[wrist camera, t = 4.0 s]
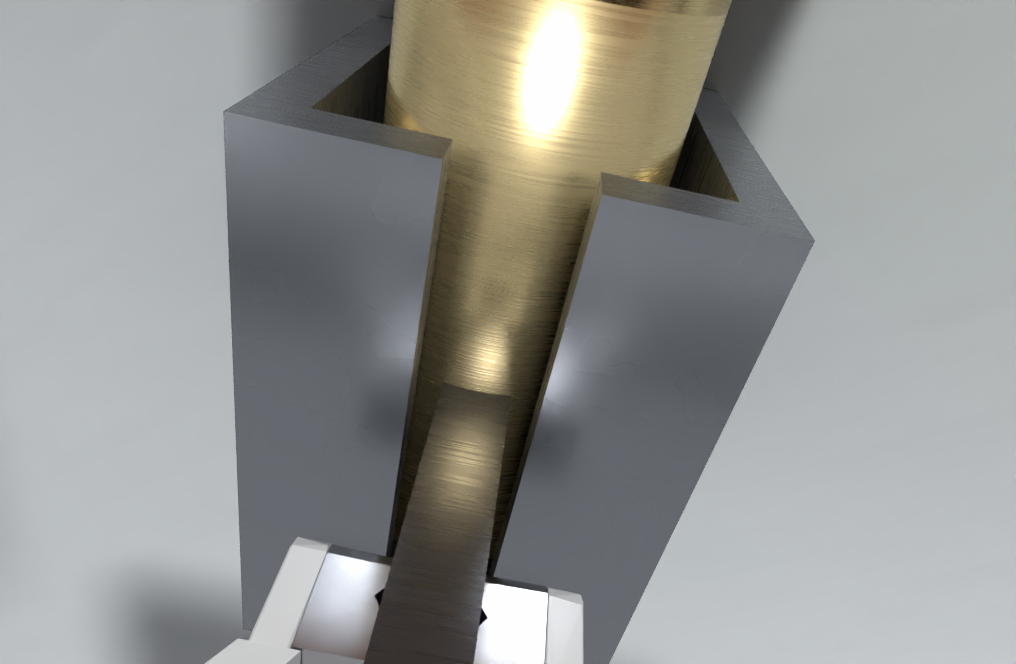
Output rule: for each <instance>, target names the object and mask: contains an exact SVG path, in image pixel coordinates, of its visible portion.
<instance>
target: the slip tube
mask: <svg viewBox="0 0 1016 664" xmlns="http://www.w3.org/2000/svg"><path fill="white" fill-rule="evenodd" d="M731 2H732V0H395V4H394V15H393V26H392V37H391V48H390V59H389V70H388V81H387V92H386V103H385V114H384V124H386V125H390V126H395V127H399V128H404V129H408V130H413V131H417V132H422V133H426V134H431V135H436V136H440V137H445V138H449V139H453V142H452V148H451V155H450V162H449V169H448V175H447V182H446V189H445V195H444V202H443V209H442V215H441V222H440V229H439V236H438V242H437V249H436V256H435V262H434V269H433V276H432V282H431V289H430V296H429V303H428V309H427V316H426V323H425V329H424V336H423V343H422V349H421V356H420V363H419V370H418V376H417V383H416V390H415V396H414V403H413V410H412V417H411V423H410V430H409V437H408V443H407V450H406V457H405V463H404V470H403V477H402V484H401V490H400V497H399V504H398V510H397V517H396V524H395V530H394V537H393V538H394V539H395V540H397V541H398V543H397V547H396V550H395V554H394V557H393V561H392V564H391V568H390V572H389V575H388V579H387V582H386V586H385V589H384V593H383V596H382V600H381V603H380V607H379V610H378V614H377V617H376V621H375V624H374V628H373V632H372V635H371V639H370V642H369V646H368V649H367V653H366V656H365V660H364V663H363V664H474V657H475V650H476V643H477V636H478V628H479V621H480V614H481V607H482V600H483V593H484V586H485V579H486V572H487V565H488V559H493V558H494V554H495V551H496V547H497V543H498V540H499V536H500V533H501V529H502V525H503V522H504V518H505V515H506V511H507V507H508V504H509V500H510V497H511V493H512V490H513V486H514V482H515V479H516V475H517V472H518V468H519V464H520V461H521V457H522V454H523V450H524V446H525V443H526V439H527V436H528V432H529V428H530V425H531V421H532V418H533V414H534V410H535V407H536V403H537V400H538V396H539V392H540V389H541V385H542V382H543V378H544V375H545V371H546V367H547V364H548V360H549V357H550V353H551V349H552V346H553V342H554V339H555V335H556V331H557V328H558V324H559V321H560V317H561V313H562V310H563V306H564V303H565V299H566V295H567V292H568V288H569V285H570V281H571V278H572V274H573V270H574V267H575V263H576V260H577V256H578V252H579V249H580V245H581V242H582V238H583V234H584V231H585V227H586V224H587V220H588V216H589V213H590V209H591V206H592V202H593V198H594V195H595V191H596V188H597V184H598V180H599V177H600V173H601V172H604V173H609V174H613V175H618V176H622V177H627V178H631V179H636V180H640V181H645V182H650V183H654V184H659V185H663V186H668V187H669V184H670V182H671V179H672V176H673V173H674V170H675V167H676V164H677V161H678V158H679V155H680V152H681V149H682V146H683V143H684V140H685V137H686V134H687V131H688V129H689V126H690V123H691V120H692V117H693V114H694V111H695V108H696V105H697V102H698V99H699V96H700V93H701V90H702V87H703V84H704V81H705V79H706V76H707V73H708V70H709V67H710V64H711V61H712V58H713V55H714V52H715V49H716V46H717V43H718V40H719V37H720V34H721V31H722V28H723V26H724V23H725V20H726V17H727V14H728V11H729V8H730V5H731Z"/></svg>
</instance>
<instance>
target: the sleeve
mask: <svg viewBox="0 0 1016 664" xmlns="http://www.w3.org/2000/svg"><path fill="white" fill-rule="evenodd" d="M392 26H393V19H390V18H385V17H381V16H376V17H374V18H372V19H371V20H369V21H368V22H366V23H364V24H363V25H361V26H360V27H358V28H356V29H355V30H353V31H352V32H350V33H348V34H347V35H345V36H344V37H342V38H340V39H339V40H337V41H336V42H334V43H332V44H331V45H329V46H328V47H326V48H324V49H323V50H321V51H320V52H318V53H316V54H315V55H313V56H311V57H310V58H308V59H307V60H305V61H303V62H302V63H300V64H299V65H297V66H295V67H294V68H292V69H291V70H289V71H287V72H286V73H284V74H283V75H281V76H279V77H278V78H276V79H275V80H273V81H271V82H270V83H268V84H267V85H265V86H263V87H262V88H260V89H259V90H257V91H255V92H254V93H252V94H251V95H249V96H247V97H246V98H244V99H243V100H241V101H239V102H238V103H236V104H235V105H233V106H231V107H230V108H228V109H226V110H225V111H223V116H224V142H225V168H226V194H227V220H228V246H229V271H230V297H231V323H232V349H233V375H234V401H235V427H236V453H237V479H238V505H239V531H240V557H241V583H242V609H243V629H246V630H251V631H253V629H254V626H255V624H256V622H257V620H258V617H259V615H260V613H261V611H262V609H263V606H264V604H265V602H266V600H267V597H268V595H269V593H270V591H271V588H272V586H273V584H274V582H275V579H276V577H277V575H278V573H279V570H280V568H281V566H282V564H283V561H284V559H285V557H286V555H287V553H288V550H289V548H290V546H291V545H292V544H293V542H294V541H295V539H296V538H297V537H301V538H306V539H311V540H316V541H321V542H326V543H331V544H334V545H339V546H343V547H348V548H352V549H356V550H361V551H365V552H370V553H374V554H379V555H383V556H388V557H392V558H393V557H394V554H395V550H396V547H397V543H398V541H397V540H395V539H394V538H393V537H394V530H395V524H396V517H397V510H398V504H399V497H400V490H401V484H402V477H403V470H404V463H405V457H406V450H407V443H408V437H409V430H410V423H411V417H412V410H413V403H414V396H415V390H416V383H417V376H418V370H419V363H420V356H421V349H422V343H423V336H424V329H425V323H426V316H427V309H428V303H429V296H430V289H431V282H432V276H433V269H434V262H435V256H436V249H437V242H438V236H439V229H440V222H441V215H442V209H443V202H444V195H445V189H446V182H447V175H448V169H449V162H450V155H451V148H452V142H453V139H449V138H445V137H440V136H436V135H431V134H426V133H422V132H417V131H413V130H408V129H404V128H399V127H395V126H390V125H386V124H384V114H385V103H386V92H387V81H388V70H389V59H390V48H391V37H392ZM814 242H815V240H814V239H813V237H812V236H811V234H810V233H809V231H808V230H807V228H806V227H805V225H804V224H803V222H802V220H801V219H800V217H799V216H798V214H797V213H796V211H795V210H794V208H793V207H792V205H791V204H790V202H789V201H788V199H787V198H786V196H785V194H784V193H783V191H782V190H781V188H780V187H779V185H778V184H777V182H776V181H775V179H774V178H773V176H772V175H771V173H770V172H769V170H768V168H767V167H766V165H765V164H764V162H763V161H762V159H761V158H760V156H759V155H758V153H757V152H756V150H755V149H754V147H753V146H752V144H751V142H750V141H749V139H748V138H747V136H746V135H745V133H744V132H743V130H742V129H741V127H740V126H739V124H738V123H737V121H736V120H735V118H734V116H733V115H732V113H731V112H730V110H729V109H728V107H727V106H726V104H725V103H724V101H723V100H722V98H721V97H720V95H719V94H718V92H716V91H711V90H707V89H702V90H701V93H700V96H699V99H698V102H697V105H696V108H695V111H694V114H693V117H692V120H691V123H690V126H689V129H688V131H687V134H686V137H685V140H684V143H683V146H682V149H681V152H680V155H679V158H678V161H677V164H676V167H675V170H674V173H673V176H672V179H671V182H670V184H669V187H668V186H663V185H659V184H654V183H650V182H645V181H640V180H636V179H631V178H627V177H622V176H618V175H613V174H609V173H604V172H601V173H600V177H599V180H598V184H597V188H596V191H595V195H594V198H593V202H592V206H591V209H590V213H589V216H588V220H587V224H586V227H585V231H584V234H583V238H582V242H581V245H580V249H579V252H578V256H577V260H576V263H575V267H574V270H573V274H572V278H571V281H570V285H569V288H568V292H567V295H566V299H565V303H564V306H563V310H562V313H561V317H560V321H559V324H558V328H557V331H556V335H555V339H554V342H553V346H552V349H551V353H550V357H549V360H548V364H547V367H546V371H545V375H544V378H543V382H542V385H541V389H540V392H539V396H538V400H537V403H536V407H535V410H534V414H533V418H532V421H531V425H530V428H529V432H528V436H527V439H526V443H525V446H524V450H523V454H522V457H521V461H520V464H519V468H518V472H517V475H516V479H515V482H514V486H513V490H512V493H511V497H510V500H509V504H508V507H507V511H506V515H505V518H504V522H503V525H502V529H501V533H500V536H499V540H498V543H497V547H496V551H495V554H494V558H493V559H488V565H487V572H486V575H488V576H494V577H499V578H504V579H510V580H515V581H521V582H526V583H531V584H537V585H542V586H546V588H552V589H557V590H563V591H568V592H574V593H579V594H580V595H581V597H582V600H583V664H609V662H610V660H611V658H612V656H613V654H614V652H615V650H616V648H617V646H618V644H619V642H620V640H621V638H622V636H623V634H624V632H625V629H626V627H627V625H628V623H629V621H630V619H631V617H632V615H633V613H634V611H635V609H636V607H637V605H638V603H639V601H640V599H641V597H642V595H643V593H644V590H645V588H646V586H647V584H648V582H649V580H650V578H651V576H652V574H653V572H654V570H655V568H656V566H657V564H658V562H659V560H660V558H661V556H662V554H663V551H664V549H665V547H666V545H667V543H668V541H669V539H670V537H671V535H672V533H673V531H674V529H675V527H676V525H677V523H678V521H679V519H680V517H681V515H682V513H683V510H684V508H685V506H686V504H687V502H688V500H689V498H690V496H691V494H692V492H693V490H694V488H695V486H696V484H697V482H698V480H699V478H700V476H701V474H702V471H703V469H704V467H705V465H706V463H707V461H708V459H709V457H710V455H711V453H712V451H713V449H714V447H715V445H716V443H717V441H718V439H719V437H720V435H721V432H722V430H723V428H724V426H725V424H726V422H727V420H728V418H729V416H730V414H731V412H732V410H733V408H734V406H735V404H736V402H737V400H738V398H739V396H740V393H741V391H742V389H743V387H744V385H745V383H746V381H747V379H748V377H749V375H750V373H751V371H752V369H753V367H754V365H755V363H756V361H757V359H758V357H759V355H760V352H761V350H762V348H763V346H764V344H765V342H766V340H767V338H768V336H769V334H770V332H771V330H772V328H773V326H774V324H775V322H776V320H777V318H778V316H779V313H780V311H781V309H782V307H783V305H784V303H785V301H786V299H787V297H788V295H789V293H790V291H791V289H792V287H793V285H794V283H795V281H796V279H797V277H798V274H799V272H800V270H801V268H802V266H803V264H804V262H805V260H806V258H807V256H808V254H809V252H810V250H811V248H812V246H813V244H814Z"/></svg>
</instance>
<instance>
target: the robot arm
mask: <svg viewBox="0 0 1016 664" xmlns="http://www.w3.org/2000/svg"><path fill="white" fill-rule="evenodd" d="M392 561H393V558H392V557H388V556H383V555H379V554H374V553H370V552H365V551H361V550H356V549H352V548H348V547H343V546H339V545H334V544H331V543H326V542H321V541H316V540H311V539H306V538H301V537H297V538H296V539H295V541H294V542H293V544H292V545H291V546H290V548H289V550H288V553H287V555H286V557H285V559H284V561H283V564H282V566H281V568H280V570H279V573H278V575H277V577H276V579H275V582H274V584H273V586H272V588H271V591H270V593H269V595H268V597H267V600H266V602H265V604H264V606H263V609H262V611H261V613H260V615H259V617H258V620H257V622H256V624H255V626H254V629H253V631H252V633H251V635H250V638H249V640H248V639H241V638H237V639H236V640H235V641H233V642H232V643H231V644H229V645H228V646H227V647H225V648H224V649H223V650H221V651H220V652H219V653H217V654H216V655H215V656H213V657H212V658H211V659H210V660H208V661H207V662H206V663H204V664H363V663H364V660H365V656H366V653H367V649H368V646H369V642H370V639H371V635H372V632H373V628H374V624H375V621H376V617H377V614H378V610H379V607H380V603H381V600H382V596H383V593H384V589H385V586H386V582H387V579H388V575H389V572H390V568H391V564H392ZM474 664H583V600H582V597H581V595H580V594H579V593H574V592H568V591H563V590H557V589H552V588H546V586H542V585H537V584H531V583H526V582H521V581H515V580H510V579H504V578H499V577H494V576H488V575H486V579H485V586H484V593H483V600H482V607H481V614H480V621H479V628H478V636H477V643H476V650H475V657H474Z"/></svg>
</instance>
